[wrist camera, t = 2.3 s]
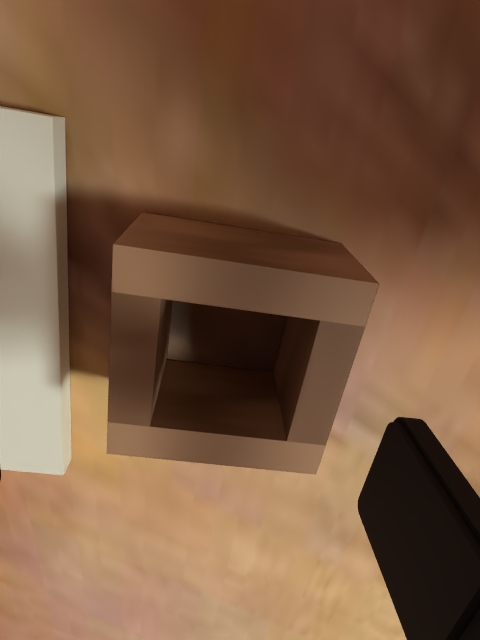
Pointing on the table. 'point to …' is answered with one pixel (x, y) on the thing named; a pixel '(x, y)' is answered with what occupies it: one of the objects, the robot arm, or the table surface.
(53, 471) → the post stand
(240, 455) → the walnut ring
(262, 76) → the table surface
